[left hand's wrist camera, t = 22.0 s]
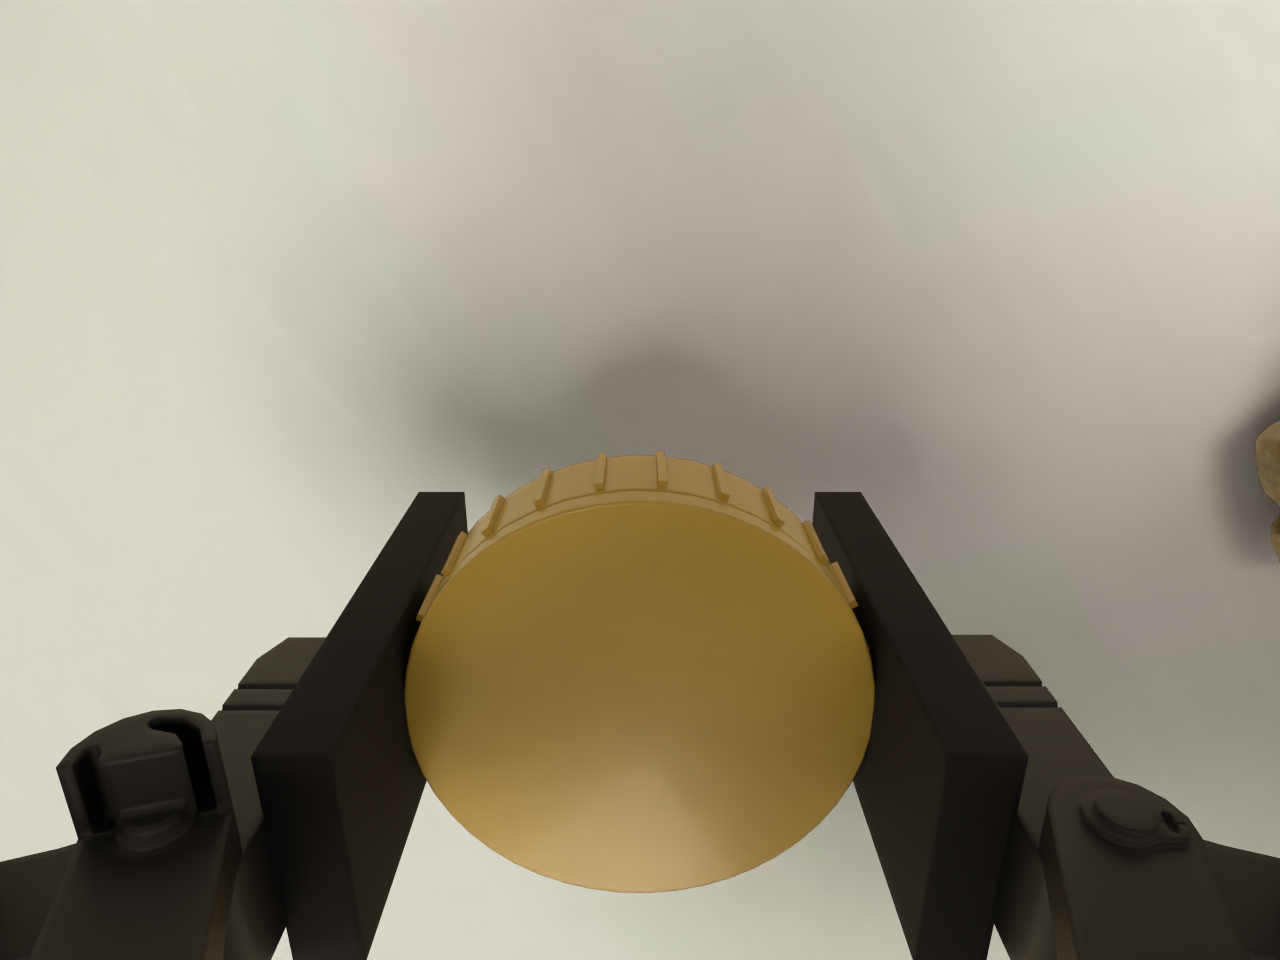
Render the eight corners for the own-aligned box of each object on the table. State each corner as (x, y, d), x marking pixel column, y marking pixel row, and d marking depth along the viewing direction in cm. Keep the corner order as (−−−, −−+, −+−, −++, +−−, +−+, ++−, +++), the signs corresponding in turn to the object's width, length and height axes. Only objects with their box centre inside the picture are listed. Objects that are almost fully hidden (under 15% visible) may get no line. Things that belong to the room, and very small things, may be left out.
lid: (841, 809, 13) (866, 892, 12) (453, 819, 13) (429, 905, 12) (865, 440, 11) (900, 486, 9) (398, 456, 11) (361, 505, 9)
